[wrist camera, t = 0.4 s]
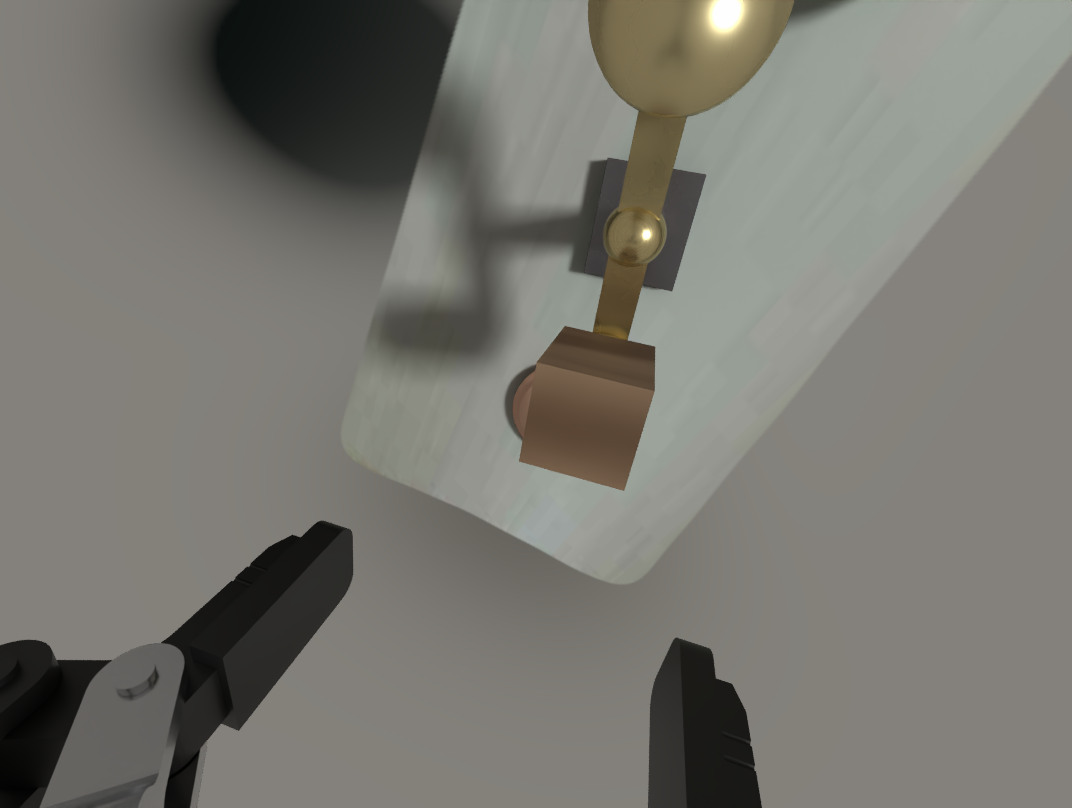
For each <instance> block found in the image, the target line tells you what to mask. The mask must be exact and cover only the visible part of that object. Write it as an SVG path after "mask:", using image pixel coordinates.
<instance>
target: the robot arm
mask: <svg viewBox="0 0 1072 808" xmlns="http://www.w3.org/2000/svg"><path fill="white" fill-rule="evenodd" d="M352 577H353V536H352V531H351V530H350V529H347V528H344V527H341V526H338V525H335V524H332V523H329V522H326V521H319V522H317V523H316V524H314V525H313V526H312V527H311V528H310V529H309V530H308V531H307V532H306V533H305V534H304V535H303V536H302V537H297V536H294V535H291V536H289V537H287V538H286V539H284V540H281V541H279V542H277V543H275V544H273V545H272V546H270V547H268V548H267V549H266V550H265V551H264V552H263V553H262V554H261V555H259V556H258V557H257V558H256V559H255V560H254V561H253V562H252V563H251V565H250V566H249V567H246V568H245V569H244V570H243V571H242V572H241V573H240V574H238V575H237V576H236V578H235V580H234V581H231V582H230V583H229V584H227V585H226V586H225V587H224V588H223V589H222V590H221V591H220V592H219V593H217V595H215V596H214V597H213V598H212V599H211V600H210V601H209V602H208V603H206V604H205V606H203V607H202V608H201V609H200V610H199V611H198V612H196V613H195V614H194V615H193V616H192V617H191V618H190V619H189V620H188V621H187V622H185V623H184V624H183V625H182V626H181V627H180V628H179V629H178V630H177V631H175V633H173V634H172V635H171V636H170V637H168V638H167V639H166V640H164V641H163V642H161V643H155V644H148V645H144V646H140V647H137V648H134V649H132V650H130V651H128V652H125V653H123V654H122V655H120V656H119V657H117V658H115V659H114V660H102V661H101V660H56V658H55V656H54V654H53V652H52V650H51V648H50V646H49V645H47V644H46V643H44V642H42V641H37V640H21V641H16V642H11V643H7V644H4V645H0V808H197V804H198V798H199V792H200V786H201V780H202V774H203V767H204V762H205V756H206V750H207V740H208V739H209V737H210V736H211V735H212V734H213V733H214V731H215V730H216V729H217V727H218V726H219V725H220V724H224V725H227V726H229V727H231V728H234V729H236V730H238V731H239V730H240V728H241V727H242V726H243V724H244V723H245V722H246V721H247V720H248V718H249V717H250V716H251V714H252V713H253V712H254V711H255V709H256V708H257V707H258V705H259V704H260V703H261V702H262V700H263V699H264V698H265V697H266V695H267V694H268V693H269V691H270V690H271V689H272V688H273V686H274V685H275V684H276V683H277V681H278V680H279V679H280V677H281V676H282V675H283V674H284V672H285V671H286V670H287V669H288V667H289V666H290V665H291V663H292V662H293V661H294V659H295V658H296V657H297V656H298V654H299V653H300V652H301V651H302V649H303V648H304V647H305V646H306V644H307V643H308V642H309V640H310V639H311V638H312V637H313V635H314V634H315V633H316V632H317V630H318V629H319V628H320V626H321V625H322V624H323V623H324V621H325V620H326V619H327V617H328V616H329V615H330V614H331V612H332V611H333V610H334V609H335V607H336V606H337V605H338V604H339V602H340V601H341V600H342V598H343V597H344V595H345V594H346V592H347V590H348V588H349V586H350V583H351V580H352ZM750 742H751V739H750V733H749V726H748V720H747V714H746V711H745V709H744V707H743V705H742V703H741V701H740V699H739V697H738V695H737V693H736V691H735V689H734V687H733V685H732V684H731V683H728V682H725V681H722V680H719V679H716V677H715V668H714V659H713V654H712V651H711V650H710V649H709V648H706V647H704V646H701V645H698V644H695V643H691V642H688V641H685V640H682V639H679V638H675V639H674V640H673V642H672V644H671V646H670V649H669V651H668V653H667V655H666V657H665V659H664V661H663V663H662V665H661V668H660V670H659V672H658V674H657V676H656V679H655V682H654V686H653V690H652V695H651V704H650V745H649V792H648V794H649V795H648V808H762V806H761V799H760V793H759V788H758V781H757V775H756V771H754V766H755V763H754V757H753V751H752V747H751V746H750Z"/></svg>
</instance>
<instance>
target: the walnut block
mask: <svg viewBox="0 0 1072 808" xmlns="http://www.w3.org/2000/svg"><path fill="white" fill-rule="evenodd" d="M654 391H655V347H654V346H649V345H645V344H641V343H636V342H632V341H628V340H623V339H619V338H615V337H610V336H606V335H602V334H597V333H593V332H589V331H584V330H580V329H576V328H571V327H567V326H565V327H564V328H563V329H562V331H561V332H560V333H559V334H558V336H557V337H556V338H555V340H554V341H553V342H552V343H551V345H550V346H549V347H548V349H547V350H546V351H545V352H544V354H543V355H542V356H541V358H540V359H539V360H538V361H537V364H536V369H535V375H534V380H533V386H532V392H531V397H530V403H529V408H528V414H527V420H526V425H525V431H524V436H523V442H522V448H521V453H520V459H519V462H523V463H527V464H530V465H534V466H537V467H541V468H544V469H548V470H552V471H555V472H559V473H562V474H566V475H570V476H573V477H577V478H580V479H584V480H587V481H591V482H595V483H598V484H602V485H605V486H609V487H612V488H616V489H620V490H623V491H624V490H625V486H626V483H627V480H628V476H629V473H630V470H631V467H632V463H633V460H634V457H635V454H636V450H637V447H638V444H639V440H640V437H641V434H642V431H643V427H644V424H645V421H646V417H647V414H648V411H649V408H650V404H651V401H652V398H653V394H654Z"/></svg>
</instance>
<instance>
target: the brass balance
mask: <svg viewBox="0 0 1072 808" xmlns="http://www.w3.org/2000/svg"><path fill="white" fill-rule="evenodd" d="M793 4H794V0H589V1H588V22H589V33H590V38H591V43H592V47H593V50H594V53H595V56H596V59H597V62H598V64H599V67H600V69H601V71H602V73H603V75H604V77H605V79H606V80H607V82H608V84H609V85H610V87H611V88H612V89H613V90H614V91H615V93H616V94H617V95H618V96H619V97H620V98H621V99H622V100H624V101H625V102H626V103H627V104H628V105H630V106H632V107H633V108H635V109H637V110H638V111H639V112H638V117H637V122H636V126H635V131H634V136H633V141H632V146H631V150H630V155H629V160H628V161H624V160H618V159H613V158H608V159H607V164H606V169H605V174H604V179H603V183H602V188H601V193H600V198H599V203H598V207H597V212H596V217H595V222H594V227H593V232H592V236H591V241H590V246H589V251H588V256H587V261H586V265H585V270H584V273H588V274H593V275H598V276H602V277H604V280H603V285H602V290H601V295H600V299H599V304H598V309H597V314H596V319H595V323H594V328H593V333H597V334H602V335H606V336H610V337H615V338H619V339H623V340H628V336H629V332H630V329H631V325H632V321H633V317H634V314H635V310H636V306H637V302H638V299H639V295H640V291H641V287H642V285H645V286H650V287H654V288H659V289H664V290H669V291H672V290H673V287H674V283H675V280H676V277H677V273H678V270H679V266H680V263H681V259H682V256H683V253H684V249H685V246H686V242H687V239H688V236H689V232H690V229H691V225H692V222H693V219H694V215H695V212H696V208H697V205H698V201H699V198H700V195H701V191H702V188H703V184H704V181H705V178H706V175H705V174H700V173H694V172H688V171H682V170H676V169H673V167H674V163H675V160H676V156H677V152H678V148H679V145H680V141H681V137H682V133H683V130H684V126H685V122H686V118H687V117H688V116H693V115H697V114H700V113H702V112H705V111H708V110H710V109H712V108H714V107H716V106H718V105H720V104H722V103H723V102H725V101H726V100H728V99H729V98H731V97H732V96H733V95H734V94H736V93H737V92H738V91H739V90H740V89H742V88H743V87H744V86H745V85H746V84H747V83H748V82H749V81H750V80H751V79H752V78H753V76H754V75H755V74H756V73H757V72H758V70H759V69H760V68H761V66H762V65H763V64H764V62H765V61H766V60H767V58H768V57H769V56H770V54H771V52H772V51H773V49H774V48H775V46H776V44H777V43H778V41H779V39H780V37H781V35H782V33H783V31H784V29H785V27H786V24H787V22H788V19H789V16H790V14H791V11H792V8H793Z"/></svg>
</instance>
